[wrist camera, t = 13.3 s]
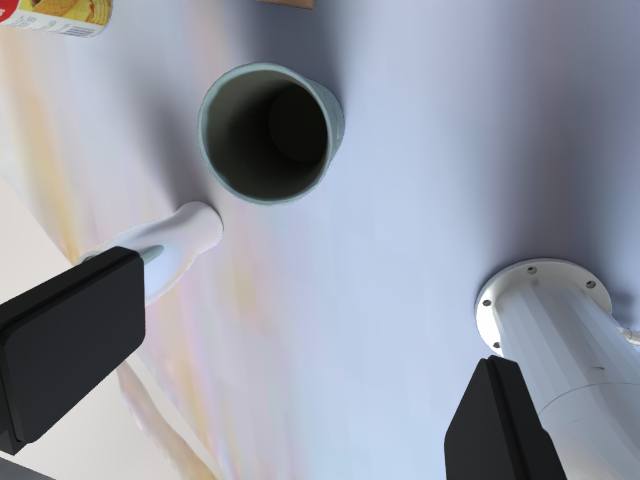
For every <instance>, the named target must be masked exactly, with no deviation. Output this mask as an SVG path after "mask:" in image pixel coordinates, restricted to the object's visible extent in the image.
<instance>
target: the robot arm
mask: <svg viewBox="0 0 640 480" xmlns="http://www.w3.org/2000/svg"><path fill="white" fill-rule="evenodd" d="M529 267H531V268H530V269H528V268H529ZM486 299H487V300H486ZM475 321H476V325H477V328H478V331H479V333H480V336H481V337H482V339H483V340H484V342H485V343H486V344H487V345H488V346H489V347H490V348H491V349H492V350H493V351H495V352H496V353H498V354H499V355H501V356H503V357H504V358H501V357H498V356H495V355H491V356H490V357H489V358H488V359H484V358H482V359H480V361H479V363H478V365H477V367H476V369H475V371H474V373H473V376H472V378H471V380H470V382H469V384H468V386H467V389H466V391H465V393H464V395H463V397H462V399H461V402H460V404H459V406H458V408H457V410H456V412H455V415H454V417H453V419H452V421H451V423H450V426H449V428H448V430H447V432H446V435H445V441H444V453H445V466H446V478H447V480H640V352H638V351H636V350H635V348H634V347H633V346H632V345H631V344H633V345H637V346H640V331H637V330H633V329H629V328H627V329H626V328H622V327H621V325H620V324H619V323H618V322H617V321H616V320H615V319H614V318H613V316H612V305H611V299H610V297H609V294H608V292H607V290H606V288H605V287H604V286H603V284H602V283H601V282H600V281H599V280H598V279H597V278H596V277H595V276H594V275H593V274H592V273H591V272H589V271H588V270H586V269H585V268H584V267H582V266H580V265H577V264H575V263H573V262H570V261H565V260H561V259H553V258H538V259H530V260H526V261H521V262H518V263H515V264H513V265H511V266H508V267H506V268H504V269H503V270H501V271H500V272H498V273H496V274H495V275H494V276H493V277H492V278H491V279H490V280H489V281H487V283H486V284H485V285H484V287H483V288H482V289H481V291H480V293H479V295H478V297H477V300H476V304H475ZM144 338H145V284H144V261H143V259H142V258H141V257H140V254H139V252H137V251H135V250H132V249H128V248H125V247H121V246H114V247H112V248H110V249H108V250H106V251H104V252H102V253H100V254H98V255H96V256H94V257H92V258H90V259H88V260H87V261H85V262H83V263H81V264H79V265H77V266H75V267H73V268H71V269H69V270H67V271H65V272H63V273H61V274H59V275H57V276H55V277H53V278H51V279H49V280H48V281H46V282H44V283H42V284H40V285H38V286H36V287H34V288H32V289H30V290H28V291H26V292H24V293H22V294H20V295H18V296H16V297H14V298H12V299H10V300H8V301H7V302H4V303H3V304H1V305H0V450H1V451H3V452H6V453H8V454H10V455H13V456H14V455H15V454H16V453H18V452H19V451H20V450H21V449H22V448H23V447H24V446H25V445H26V444H28V443H33V442H35V441H36V440H38V439H39V438H40V437H41V436H42V435H43V434H45V433H46V432H47V431H48V430H49V429H50V428H51V427H52V426H53V425H54V424H55V423H56V422H58V421H59V420H60V419H61V418H62V417H63V416H64V415H65V414H66V413H67V412H68V411H69V410H71V409H72V408H73V407H74V406H75V405H76V404H77V403H78V402H79V401H80V400H81V399H82V398H84V397H85V396H86V395H87V394H88V393H89V392H90V391H91V390H92V389H93V388H95V387H96V385H98V384H99V383H100V382H101V381H102V380H103V379H104V378H105V377H106V376H108V375H109V374H110V373H111V372H112V371H113V370H114V369H115V368H116V367H117V366H118V365H120V364H121V363H122V362H123V361H124V360H125V359H126V358H127V357H128V356H129V355H130V354H131V353H133V352H134V351H135V350H136V349H137V348H138V347H139V346H140V345H141V344H142V342H143V340H144ZM0 480H56V479H53V478H51V477H48V476H46V475H43V474H41V473H38V472H36V471H33V470H31V469H28V468H26V467H23V466H21V465H18V464H16V463H13V462H11V461H8V460H6V459H3V458H1V457H0Z"/></svg>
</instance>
